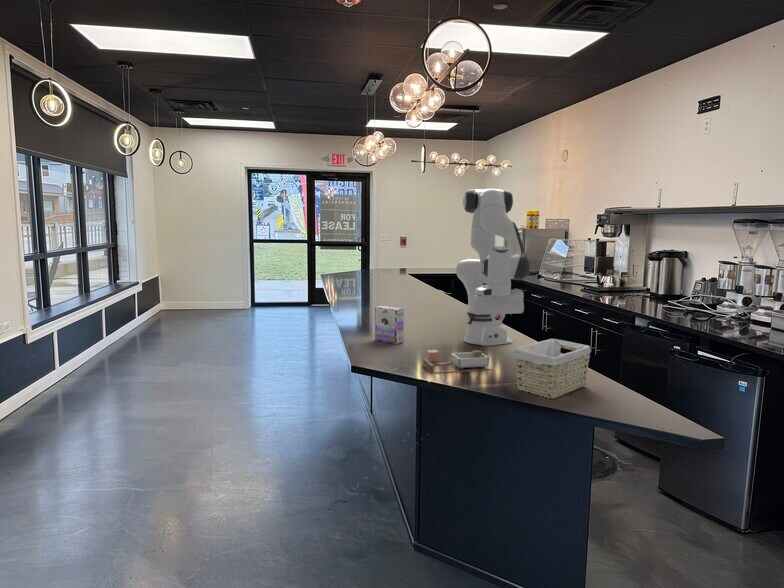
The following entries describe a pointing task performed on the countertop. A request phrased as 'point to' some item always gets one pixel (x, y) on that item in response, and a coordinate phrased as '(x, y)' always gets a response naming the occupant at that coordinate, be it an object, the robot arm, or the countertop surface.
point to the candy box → (389, 324)
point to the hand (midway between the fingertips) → (497, 325)
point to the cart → (469, 360)
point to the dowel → (476, 354)
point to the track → (431, 366)
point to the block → (432, 355)
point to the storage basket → (551, 367)
